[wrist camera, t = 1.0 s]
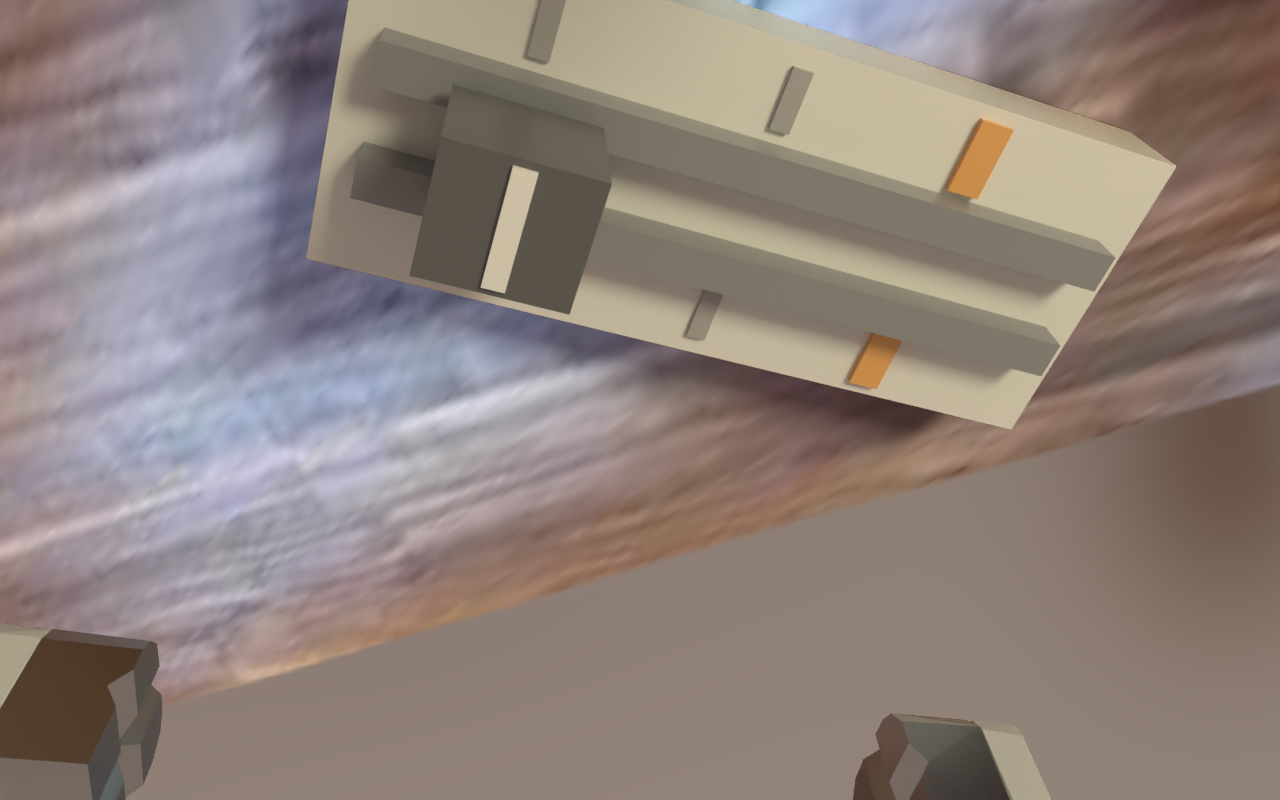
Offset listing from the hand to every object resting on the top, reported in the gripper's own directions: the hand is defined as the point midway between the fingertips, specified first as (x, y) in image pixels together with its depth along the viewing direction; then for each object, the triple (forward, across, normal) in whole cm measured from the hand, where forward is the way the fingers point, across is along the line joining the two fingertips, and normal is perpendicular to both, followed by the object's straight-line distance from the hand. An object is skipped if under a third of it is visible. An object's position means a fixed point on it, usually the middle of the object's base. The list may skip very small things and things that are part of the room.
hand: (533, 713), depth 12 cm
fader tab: (+20, +1, +1) cm, 20 cm away
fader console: (+24, -6, +1) cm, 24 cm away
